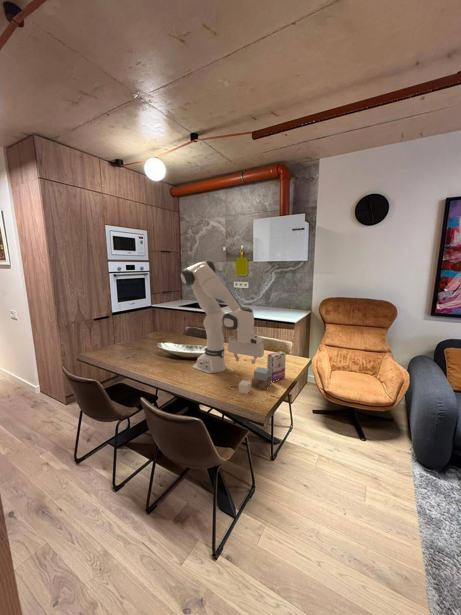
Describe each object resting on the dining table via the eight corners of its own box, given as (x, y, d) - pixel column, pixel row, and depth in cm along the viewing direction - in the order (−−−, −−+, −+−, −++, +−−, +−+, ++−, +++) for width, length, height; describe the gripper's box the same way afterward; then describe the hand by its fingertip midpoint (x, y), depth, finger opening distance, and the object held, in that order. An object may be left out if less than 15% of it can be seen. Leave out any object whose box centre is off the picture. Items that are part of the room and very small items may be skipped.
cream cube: (238, 392, 142) (238, 383, 141) (242, 388, 146) (242, 380, 145) (247, 394, 140) (247, 385, 139) (250, 390, 144) (250, 382, 143)
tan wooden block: (251, 387, 148) (251, 379, 147) (257, 381, 156) (257, 373, 155) (266, 391, 144) (266, 382, 143) (271, 384, 152) (271, 376, 151)
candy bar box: (279, 375, 164) (280, 350, 161) (285, 378, 160) (286, 352, 157) (266, 379, 157) (267, 354, 154) (272, 382, 153) (273, 356, 150)
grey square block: (253, 378, 148) (253, 371, 147) (257, 374, 154) (258, 367, 153) (265, 381, 145) (265, 373, 144) (269, 376, 151) (269, 369, 150)
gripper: (225, 336, 139) (225, 360, 142) (261, 341, 130) (260, 367, 133) (230, 333, 145) (230, 357, 147) (265, 338, 136) (264, 363, 138)
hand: (245, 362), depth 140 cm, fingers open, 8 cm apart
